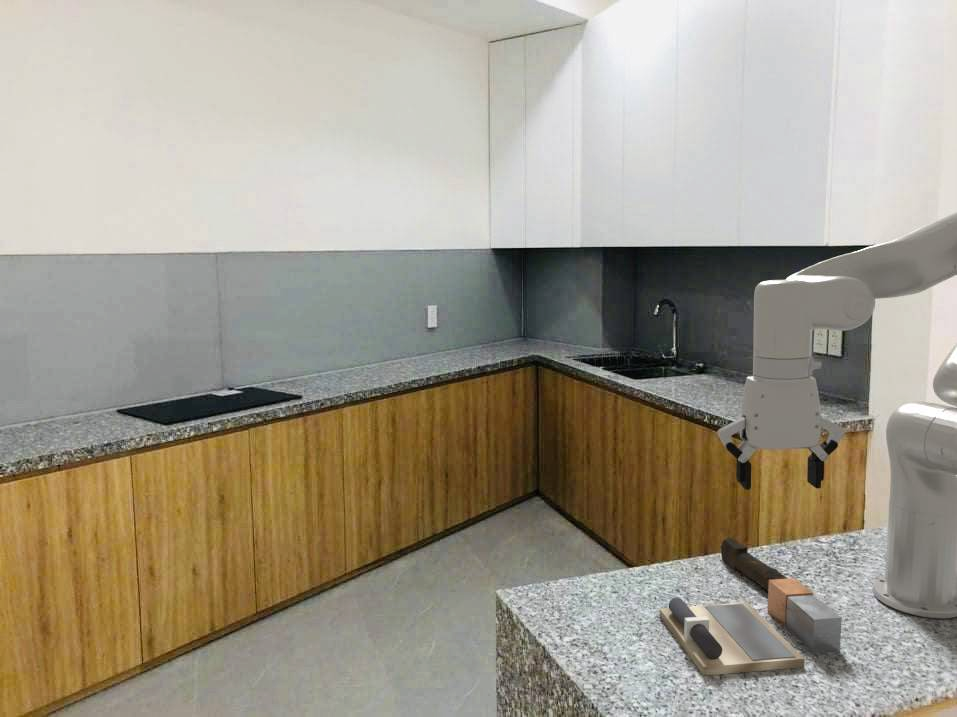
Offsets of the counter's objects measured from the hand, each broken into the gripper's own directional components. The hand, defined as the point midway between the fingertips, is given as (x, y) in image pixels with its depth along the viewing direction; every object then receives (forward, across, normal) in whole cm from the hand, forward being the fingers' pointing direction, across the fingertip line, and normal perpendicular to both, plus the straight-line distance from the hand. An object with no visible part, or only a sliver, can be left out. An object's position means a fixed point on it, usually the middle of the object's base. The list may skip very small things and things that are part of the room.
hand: (779, 486), depth 102 cm
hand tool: (+22, -1, -16) cm, 28 cm away
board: (+22, +8, +4) cm, 23 cm away
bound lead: (+21, +13, +5) cm, 25 cm away
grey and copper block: (+22, -3, +1) cm, 22 cm away
